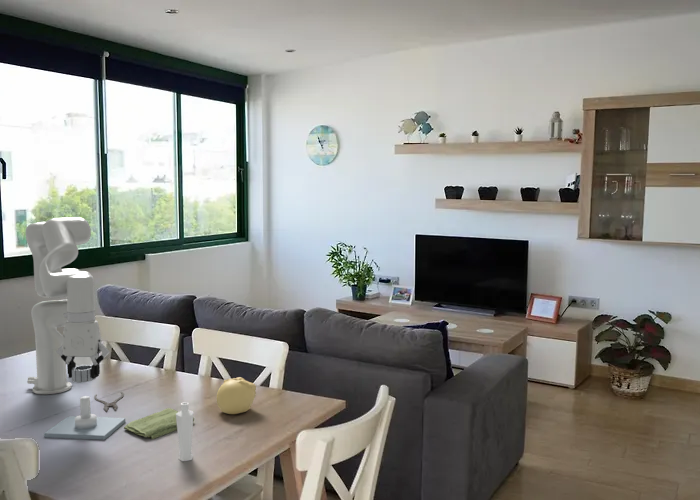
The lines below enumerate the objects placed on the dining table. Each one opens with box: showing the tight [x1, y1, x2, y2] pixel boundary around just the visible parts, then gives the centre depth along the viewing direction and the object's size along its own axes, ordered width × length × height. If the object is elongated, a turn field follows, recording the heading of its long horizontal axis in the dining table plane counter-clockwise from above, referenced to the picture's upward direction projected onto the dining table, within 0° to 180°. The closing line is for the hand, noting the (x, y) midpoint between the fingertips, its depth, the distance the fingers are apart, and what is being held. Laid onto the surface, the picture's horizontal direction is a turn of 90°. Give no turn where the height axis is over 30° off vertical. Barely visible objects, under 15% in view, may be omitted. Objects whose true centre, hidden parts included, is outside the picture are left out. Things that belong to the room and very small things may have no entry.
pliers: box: [93, 391, 125, 413], centre depth 219 cm, size 10×1×20 cm
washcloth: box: [123, 407, 195, 440], centre depth 197 cm, size 13×18×3 cm
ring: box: [71, 364, 97, 383], centre depth 193 cm, size 6×6×4 cm
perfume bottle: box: [176, 401, 194, 462], centre depth 174 cm, size 5×4×15 cm
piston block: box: [43, 395, 126, 441], centre depth 194 cm, size 18×14×10 cm
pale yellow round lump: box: [215, 376, 257, 415], centre depth 210 cm, size 12×12×11 cm
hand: (83, 376), depth 193 cm, fingers closed on ring, 6 cm apart
